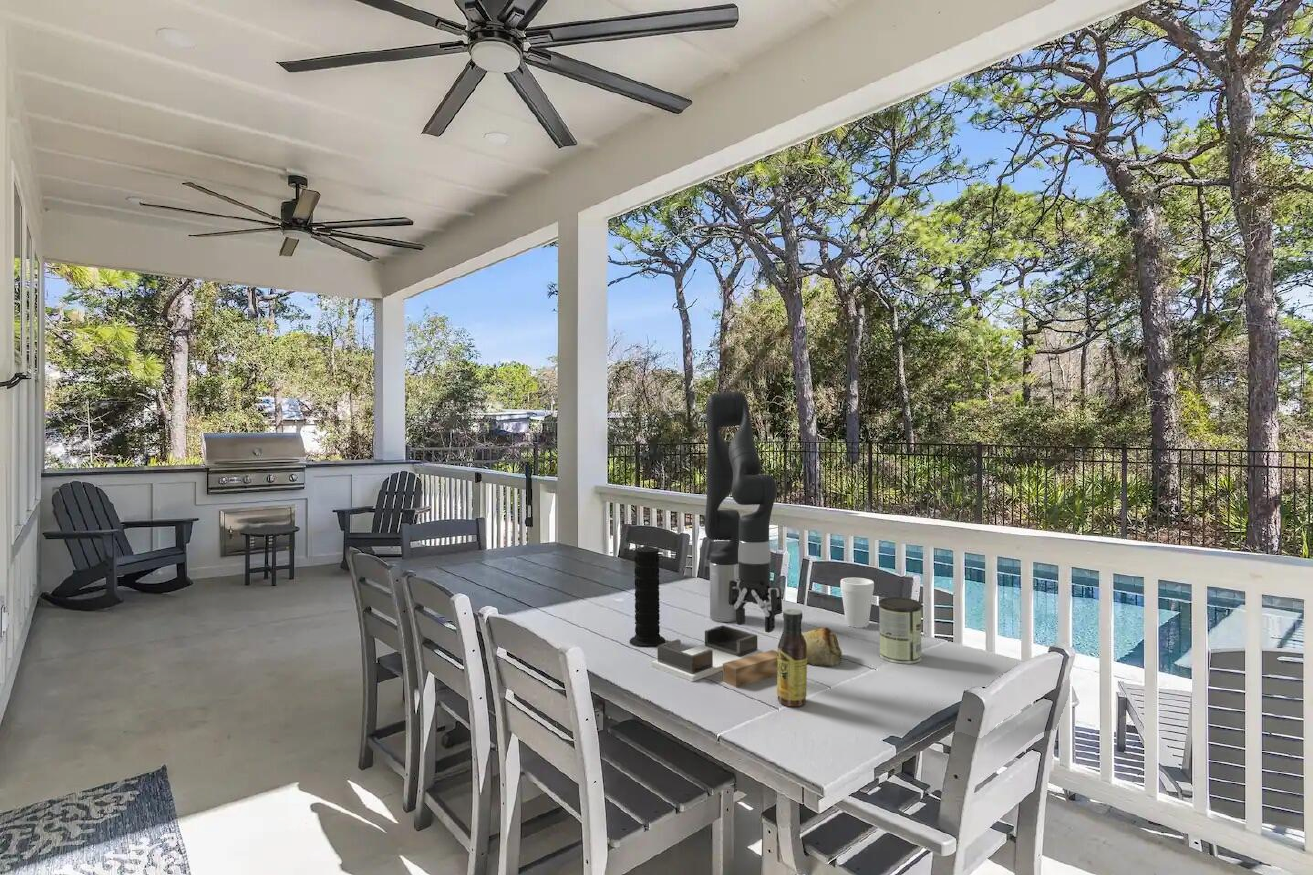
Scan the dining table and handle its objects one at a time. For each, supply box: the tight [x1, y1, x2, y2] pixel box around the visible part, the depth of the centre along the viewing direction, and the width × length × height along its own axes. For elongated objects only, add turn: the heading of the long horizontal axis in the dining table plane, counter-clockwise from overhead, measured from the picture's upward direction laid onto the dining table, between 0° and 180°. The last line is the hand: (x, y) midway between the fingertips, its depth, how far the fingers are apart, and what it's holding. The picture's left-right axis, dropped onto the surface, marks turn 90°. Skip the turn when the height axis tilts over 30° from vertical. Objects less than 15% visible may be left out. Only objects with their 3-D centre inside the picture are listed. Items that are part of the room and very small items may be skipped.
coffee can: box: [878, 596, 923, 665], centre depth 175 cm, size 10×10×14 cm
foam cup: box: [840, 577, 875, 629], centre depth 202 cm, size 10×9×13 cm
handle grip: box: [629, 545, 667, 648], centre depth 188 cm, size 10×26×10 cm
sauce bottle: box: [776, 608, 808, 708], centre depth 147 cm, size 7×6×20 cm
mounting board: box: [651, 643, 764, 682], centre depth 173 cm, size 26×14×1 cm, turn 133°
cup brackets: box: [657, 624, 758, 674], centre depth 173 cm, size 24×12×4 cm, turn 133°
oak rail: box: [722, 649, 778, 688], centre depth 162 cm, size 16×4×4 cm, turn 125°
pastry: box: [801, 627, 843, 667], centre depth 175 cm, size 14×12×8 cm
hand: (754, 627), depth 162 cm, fingers open, 8 cm apart
